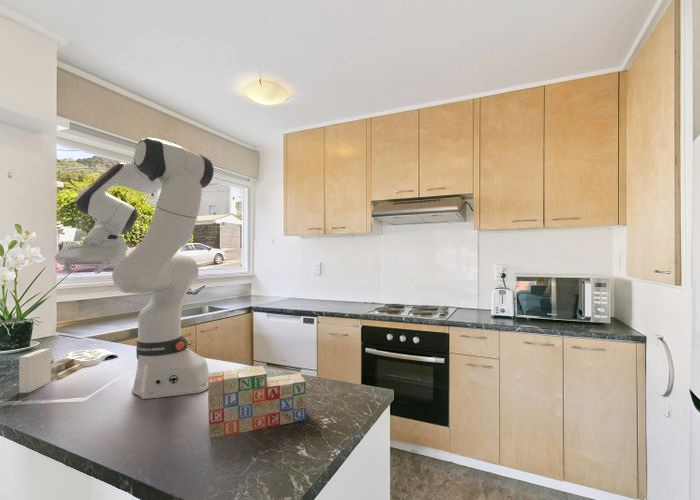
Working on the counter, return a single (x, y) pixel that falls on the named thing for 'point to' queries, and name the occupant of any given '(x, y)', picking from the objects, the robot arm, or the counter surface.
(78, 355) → the knuckle duster
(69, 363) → the offcuts
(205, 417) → the counter surface
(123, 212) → the robot arm
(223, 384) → the stack of blocks
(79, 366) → the oak rack
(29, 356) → the cream board
